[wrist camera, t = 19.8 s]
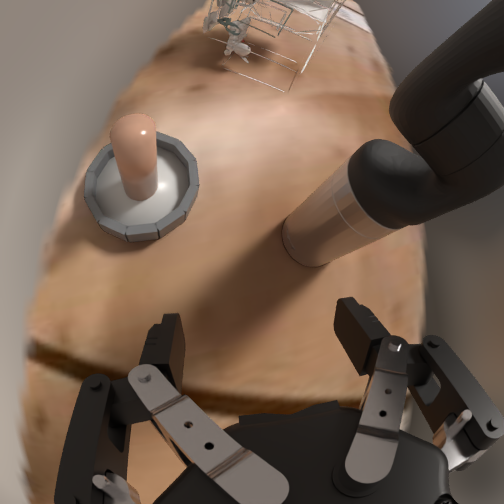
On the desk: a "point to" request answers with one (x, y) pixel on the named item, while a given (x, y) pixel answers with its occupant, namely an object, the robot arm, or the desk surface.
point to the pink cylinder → (136, 154)
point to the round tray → (152, 209)
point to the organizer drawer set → (238, 28)
